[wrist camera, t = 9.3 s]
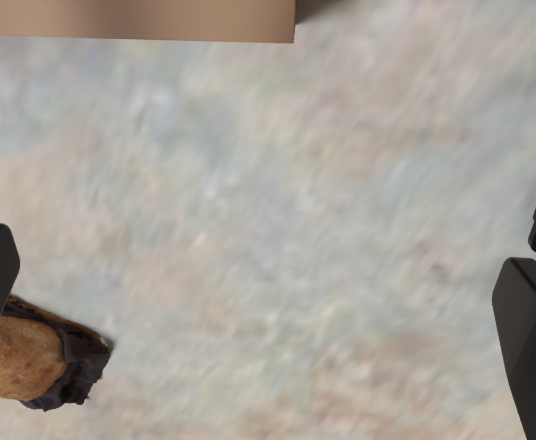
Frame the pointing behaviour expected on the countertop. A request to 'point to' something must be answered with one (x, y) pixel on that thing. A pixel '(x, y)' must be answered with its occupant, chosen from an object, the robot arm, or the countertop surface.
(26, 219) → the countertop surface
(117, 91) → the countertop surface
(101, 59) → the countertop surface
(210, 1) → the pin holder
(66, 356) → the bread roll
